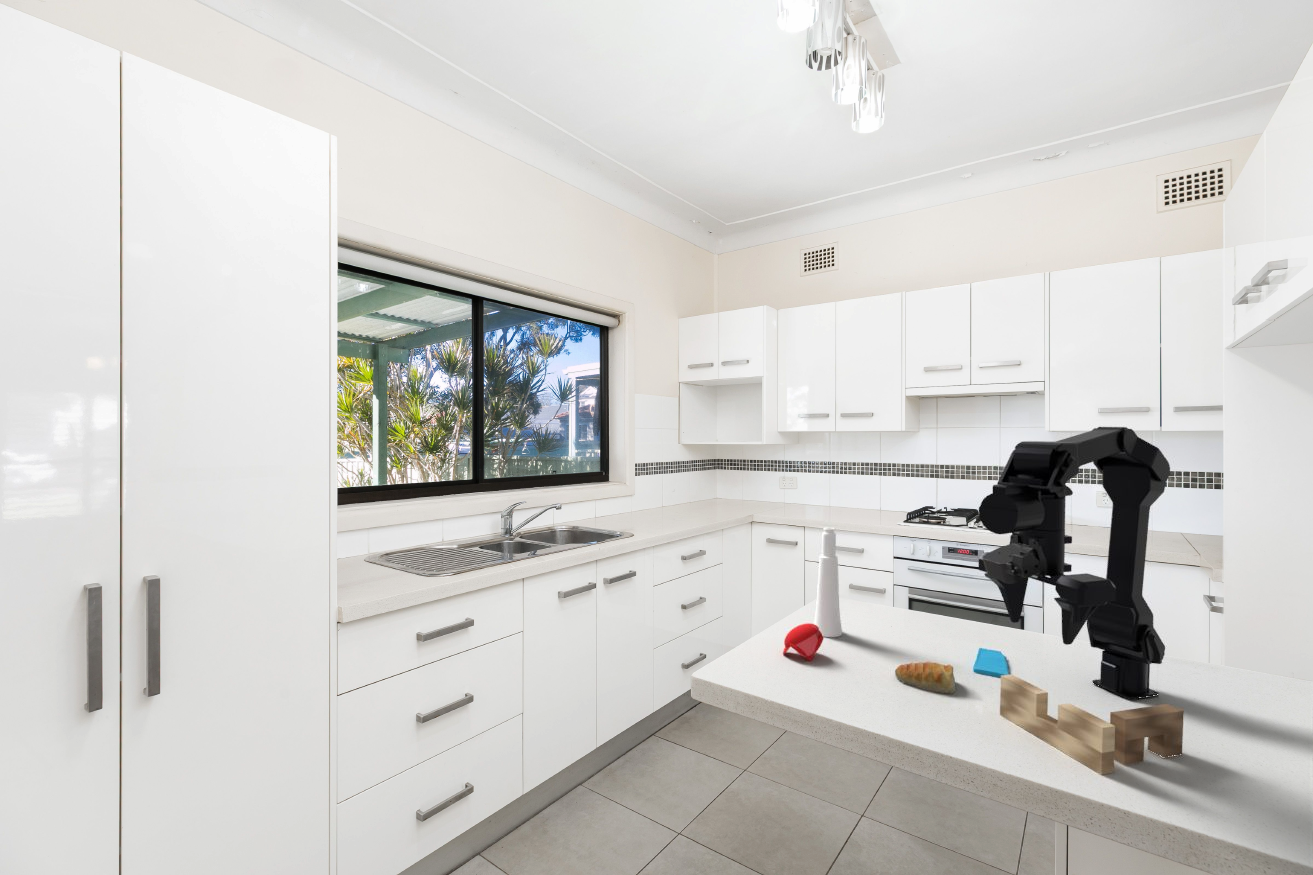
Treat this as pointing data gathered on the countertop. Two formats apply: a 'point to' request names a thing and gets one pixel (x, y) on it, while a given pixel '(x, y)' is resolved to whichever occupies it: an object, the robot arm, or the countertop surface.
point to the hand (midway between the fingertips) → (1039, 632)
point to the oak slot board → (1059, 724)
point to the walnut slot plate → (1147, 732)
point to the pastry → (927, 676)
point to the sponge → (991, 663)
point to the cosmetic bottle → (828, 588)
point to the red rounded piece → (804, 640)
